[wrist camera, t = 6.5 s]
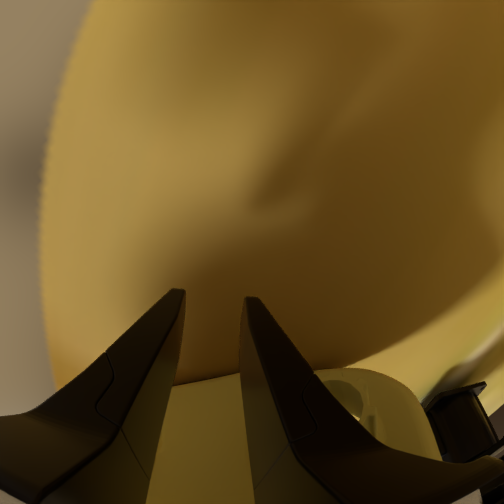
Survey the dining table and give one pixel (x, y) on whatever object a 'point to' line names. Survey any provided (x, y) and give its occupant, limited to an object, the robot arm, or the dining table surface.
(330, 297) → the dining table surface
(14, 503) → the robot arm
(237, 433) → the plastic component
